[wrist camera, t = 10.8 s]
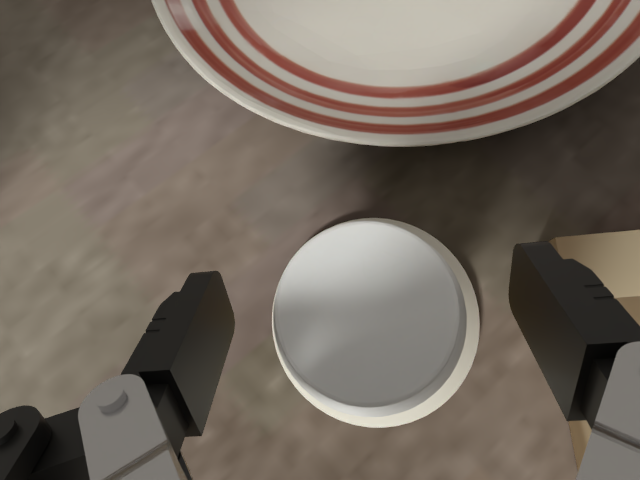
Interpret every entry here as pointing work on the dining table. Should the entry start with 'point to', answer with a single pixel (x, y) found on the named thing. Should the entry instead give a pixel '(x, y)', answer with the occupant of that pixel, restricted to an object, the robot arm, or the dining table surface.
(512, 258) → the robot arm
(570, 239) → the birch pocket block
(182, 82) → the dining table surface
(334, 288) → the supplement bottle
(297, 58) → the dinner plate
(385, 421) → the pale ceramic coaster
